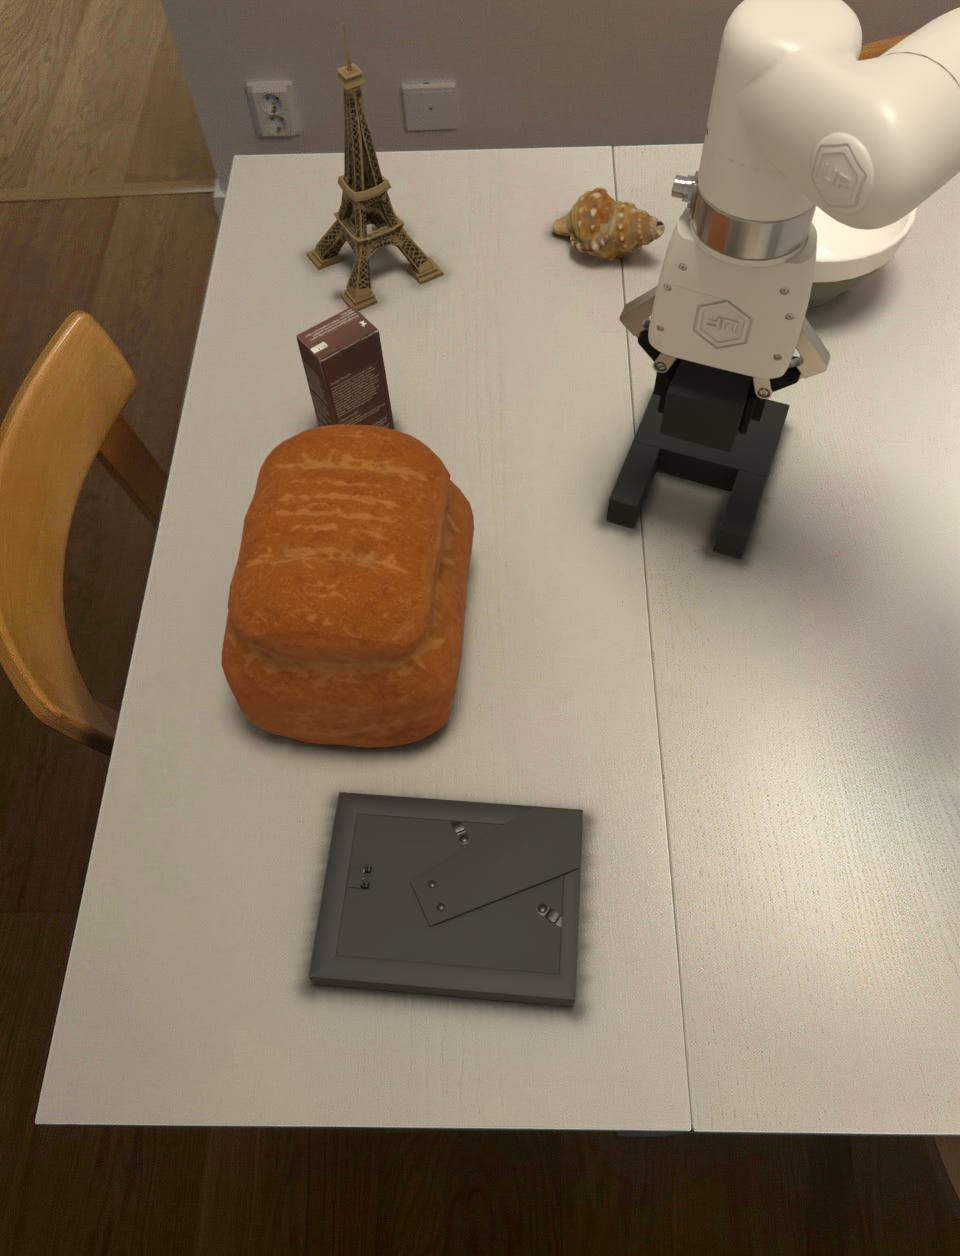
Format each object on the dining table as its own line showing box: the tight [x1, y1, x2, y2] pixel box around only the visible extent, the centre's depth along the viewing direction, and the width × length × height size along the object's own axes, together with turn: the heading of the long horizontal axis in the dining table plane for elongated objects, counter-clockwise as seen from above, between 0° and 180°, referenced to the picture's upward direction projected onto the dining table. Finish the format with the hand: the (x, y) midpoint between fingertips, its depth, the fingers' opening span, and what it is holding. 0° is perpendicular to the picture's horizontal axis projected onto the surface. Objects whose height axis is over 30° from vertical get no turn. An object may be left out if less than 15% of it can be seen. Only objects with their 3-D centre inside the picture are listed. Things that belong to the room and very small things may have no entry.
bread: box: [221, 424, 475, 748], centre depth 80 cm, size 18×22×17 cm
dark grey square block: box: [660, 359, 753, 452], centre depth 81 cm, size 6×6×4 cm
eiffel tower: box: [306, 22, 444, 312], centre depth 101 cm, size 11×11×25 cm
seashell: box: [552, 186, 666, 261], centre depth 110 cm, size 9×8×10 cm
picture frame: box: [308, 791, 584, 1008], centre depth 74 cm, size 13×2×18 cm
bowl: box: [807, 206, 918, 309], centre depth 105 cm, size 20×20×10 cm
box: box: [295, 306, 396, 430], centre depth 94 cm, size 6×4×12 cm
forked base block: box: [606, 390, 791, 560], centre depth 94 cm, size 12×16×3 cm
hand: (706, 409), depth 82 cm, fingers closed on dark grey square block, 5 cm apart
